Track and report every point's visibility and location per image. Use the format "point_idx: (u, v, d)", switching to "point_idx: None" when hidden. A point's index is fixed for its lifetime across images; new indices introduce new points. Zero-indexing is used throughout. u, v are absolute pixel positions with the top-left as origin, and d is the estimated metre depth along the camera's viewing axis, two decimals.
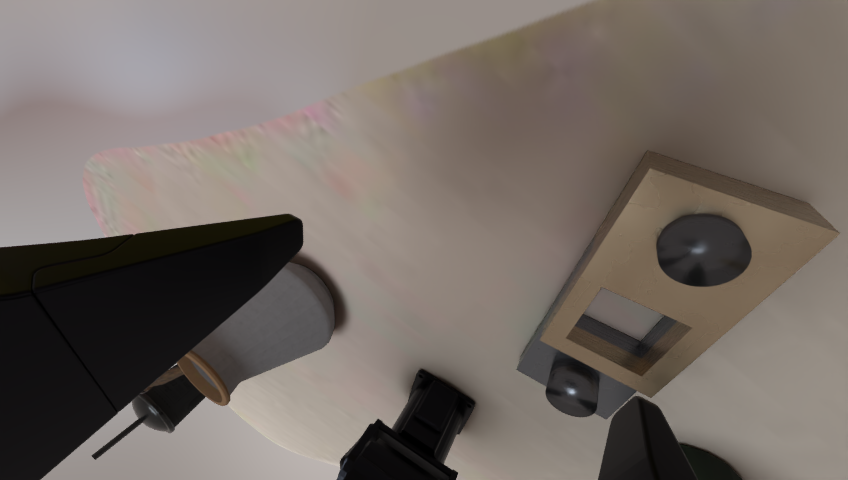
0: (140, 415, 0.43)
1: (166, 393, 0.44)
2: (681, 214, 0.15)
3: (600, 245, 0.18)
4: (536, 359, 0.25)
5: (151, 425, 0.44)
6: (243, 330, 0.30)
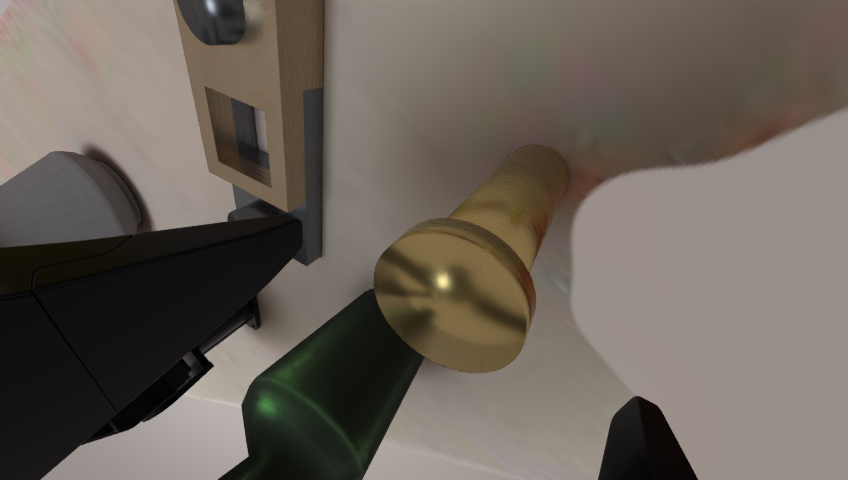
0: None
1: None
2: None
3: (182, 34, 0.18)
4: None
5: None
6: None
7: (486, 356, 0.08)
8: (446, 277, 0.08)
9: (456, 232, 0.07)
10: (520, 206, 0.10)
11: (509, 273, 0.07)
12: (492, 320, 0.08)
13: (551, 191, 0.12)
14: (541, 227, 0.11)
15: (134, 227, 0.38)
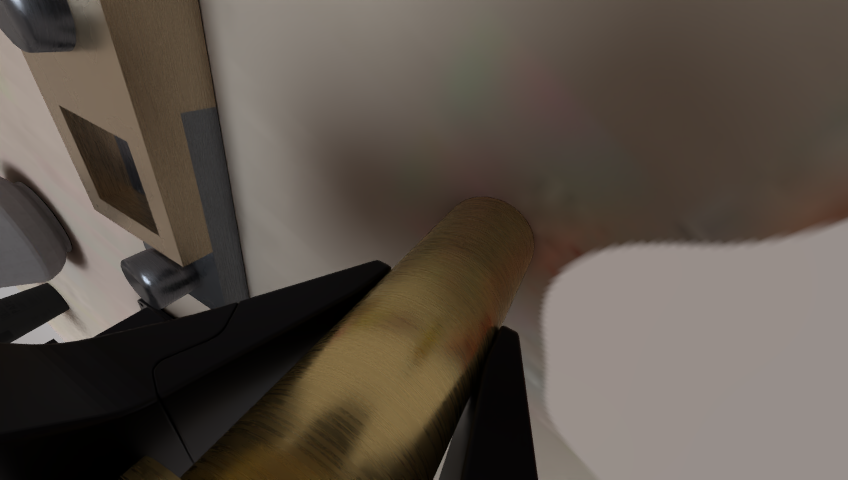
0: None
1: None
2: None
3: None
4: None
5: None
6: None
7: None
8: None
9: None
10: (416, 359, 0.05)
11: None
12: None
13: (495, 291, 0.08)
14: (462, 382, 0.06)
15: (59, 257, 0.33)
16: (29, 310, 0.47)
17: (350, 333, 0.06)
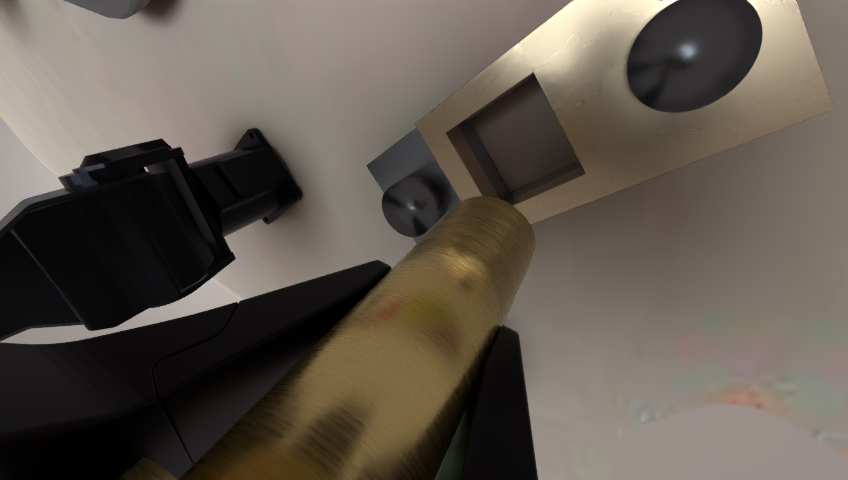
0: None
1: None
2: None
3: None
4: (395, 161, 0.20)
5: None
6: None
7: None
8: None
9: None
10: (417, 359, 0.05)
11: None
12: None
13: (496, 291, 0.08)
14: (463, 382, 0.06)
15: (147, 3, 0.24)
16: None
17: (350, 333, 0.06)
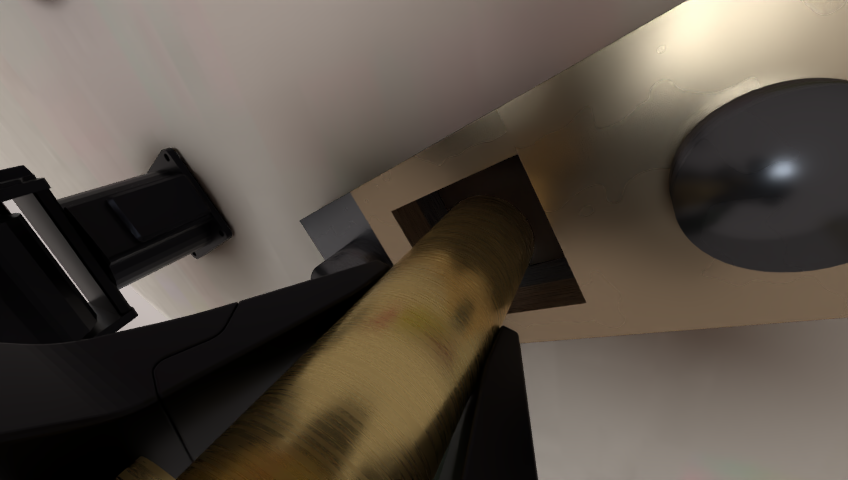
0: None
1: None
2: (846, 69, 0.05)
3: (595, 53, 0.07)
4: (334, 222, 0.15)
5: None
6: None
7: None
8: None
9: None
10: (415, 358, 0.05)
11: None
12: None
13: (496, 290, 0.08)
14: (462, 382, 0.06)
15: None
16: None
17: (349, 332, 0.06)
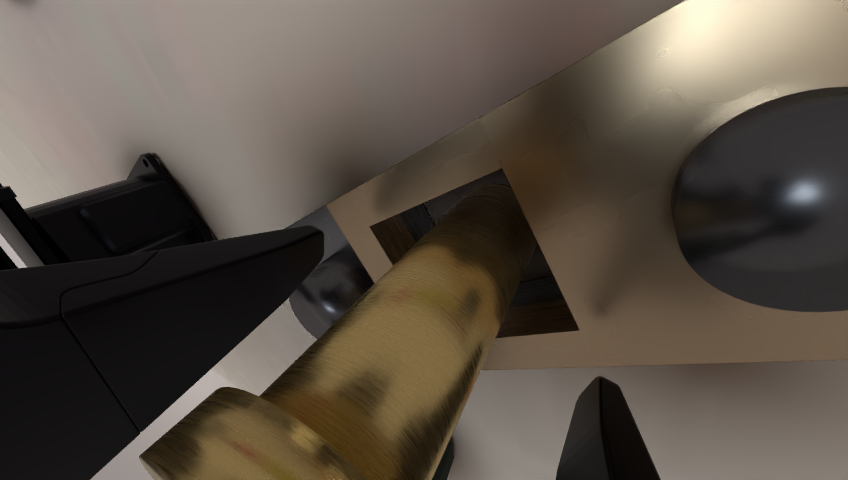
0: None
1: None
2: None
3: (587, 57, 0.06)
4: None
5: None
6: None
7: None
8: None
9: (242, 459, 0.03)
10: (441, 318, 0.06)
11: None
12: None
13: (507, 267, 0.08)
14: (480, 342, 0.07)
15: None
16: None
17: (381, 297, 0.06)
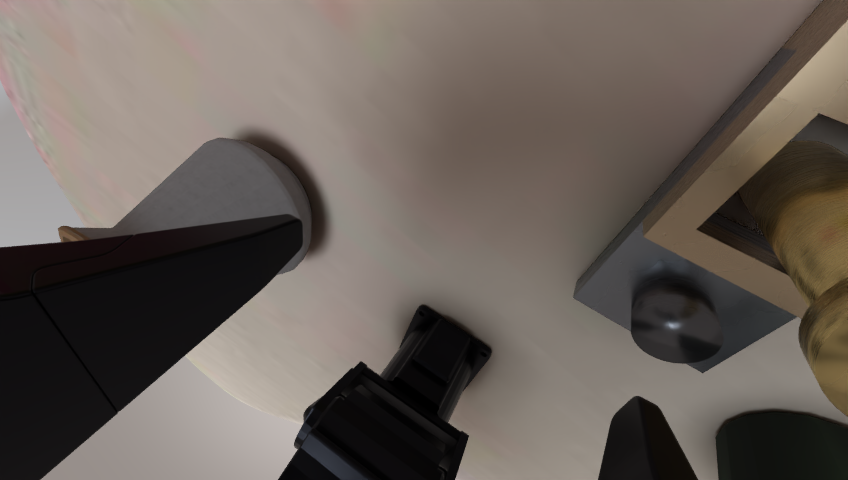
0: None
1: None
2: None
3: None
4: (611, 281, 0.17)
5: None
6: (173, 219, 0.20)
7: None
8: None
9: None
10: None
11: None
12: None
13: None
14: None
15: None
16: None
17: (829, 224, 0.09)
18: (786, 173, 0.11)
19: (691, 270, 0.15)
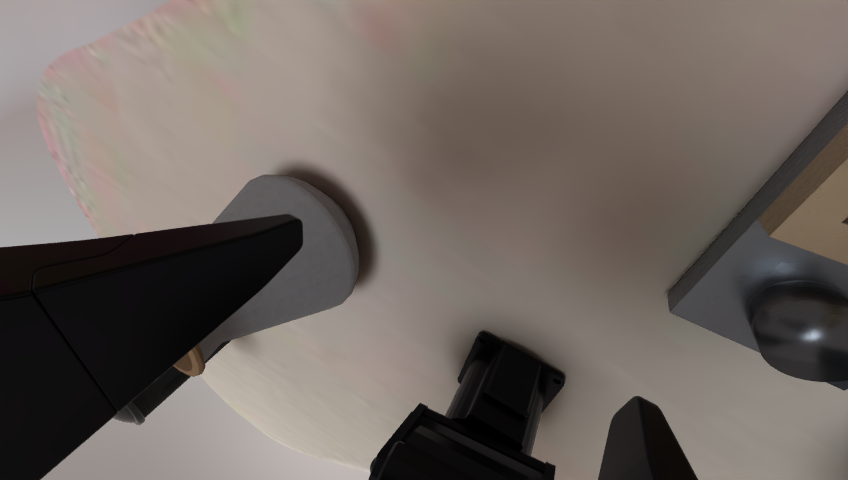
0: None
1: None
2: None
3: None
4: (719, 290, 0.15)
5: None
6: None
7: None
8: None
9: None
10: None
11: None
12: None
13: None
14: None
15: None
16: None
17: None
18: None
19: (824, 270, 0.13)
